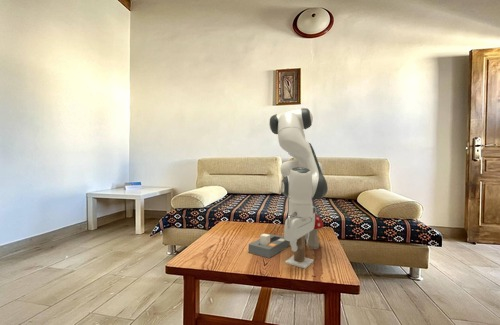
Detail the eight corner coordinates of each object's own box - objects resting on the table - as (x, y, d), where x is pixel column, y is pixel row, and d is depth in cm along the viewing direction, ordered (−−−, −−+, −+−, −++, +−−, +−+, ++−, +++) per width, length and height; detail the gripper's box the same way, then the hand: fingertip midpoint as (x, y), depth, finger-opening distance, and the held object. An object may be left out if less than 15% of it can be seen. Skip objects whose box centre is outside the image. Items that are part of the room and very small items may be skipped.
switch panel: (270, 241, 114) (270, 233, 114) (289, 245, 108) (289, 237, 108) (248, 252, 99) (248, 243, 99) (269, 258, 93) (269, 249, 93)
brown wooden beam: (304, 260, 90) (304, 233, 90) (301, 262, 88) (301, 235, 88) (297, 258, 92) (297, 232, 92) (293, 260, 90) (294, 234, 90)
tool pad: (294, 256, 96) (294, 254, 96) (313, 261, 91) (313, 259, 91) (285, 262, 89) (285, 261, 89) (305, 268, 84) (305, 266, 84)
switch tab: (264, 246, 102) (264, 233, 102) (270, 247, 101) (270, 234, 101) (260, 248, 100) (260, 235, 100) (266, 249, 98) (266, 236, 98)
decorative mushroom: (323, 251, 101) (324, 216, 101) (303, 249, 103) (303, 215, 103) (322, 244, 110) (323, 211, 110) (303, 242, 112) (303, 210, 112)
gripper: (296, 216, 80) (296, 257, 80) (317, 207, 96) (317, 241, 96) (279, 214, 83) (279, 253, 84) (303, 205, 100) (303, 238, 100)
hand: (300, 247), depth 90 cm, fingers open, 8 cm apart
